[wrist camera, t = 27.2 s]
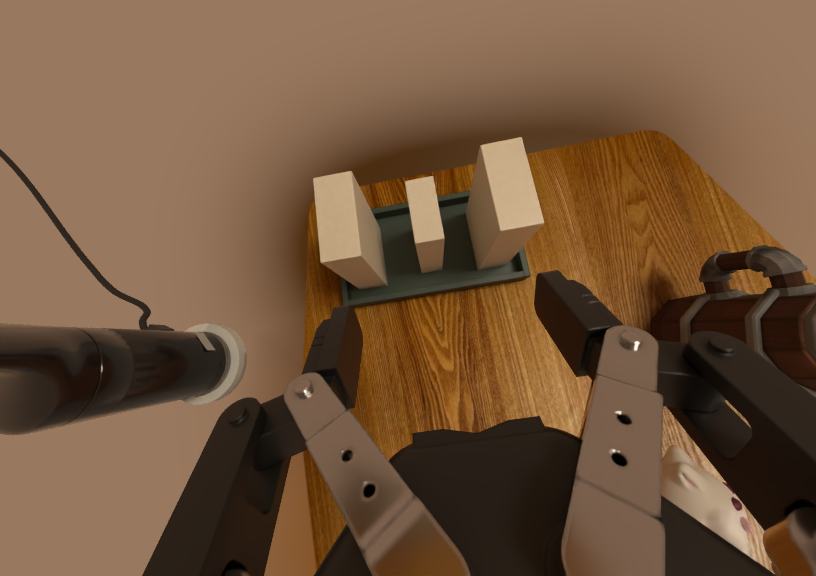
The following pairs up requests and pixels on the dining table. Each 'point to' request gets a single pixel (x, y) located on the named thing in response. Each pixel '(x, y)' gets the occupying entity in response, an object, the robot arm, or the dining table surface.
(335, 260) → the cream book
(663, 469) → the cream animal figurine
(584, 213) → the dining table surface
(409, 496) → the robot arm
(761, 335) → the mug
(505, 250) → the cream book
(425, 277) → the book tray
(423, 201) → the thin cream book
